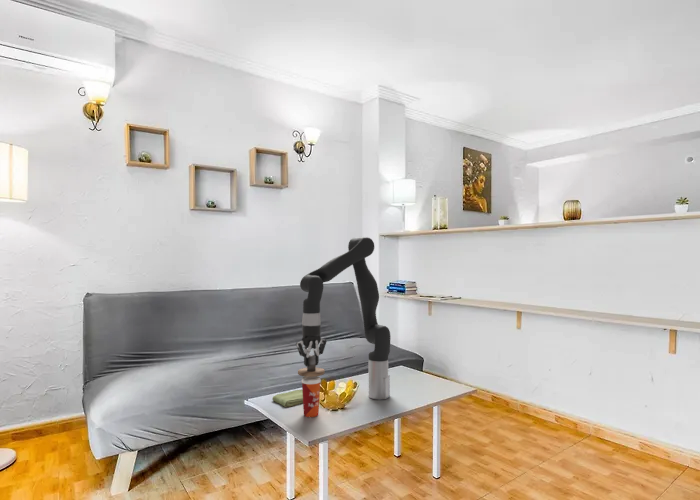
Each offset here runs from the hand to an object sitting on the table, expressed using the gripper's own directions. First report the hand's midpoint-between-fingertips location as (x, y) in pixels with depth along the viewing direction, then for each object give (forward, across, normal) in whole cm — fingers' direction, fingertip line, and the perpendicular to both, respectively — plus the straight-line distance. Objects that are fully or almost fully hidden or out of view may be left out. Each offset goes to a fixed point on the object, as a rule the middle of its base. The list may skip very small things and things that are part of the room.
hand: (311, 365), depth 173 cm
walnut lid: (+3, 0, 0) cm, 3 cm away
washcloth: (+21, +3, +20) cm, 29 cm away
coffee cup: (+20, 0, 0) cm, 20 cm away
